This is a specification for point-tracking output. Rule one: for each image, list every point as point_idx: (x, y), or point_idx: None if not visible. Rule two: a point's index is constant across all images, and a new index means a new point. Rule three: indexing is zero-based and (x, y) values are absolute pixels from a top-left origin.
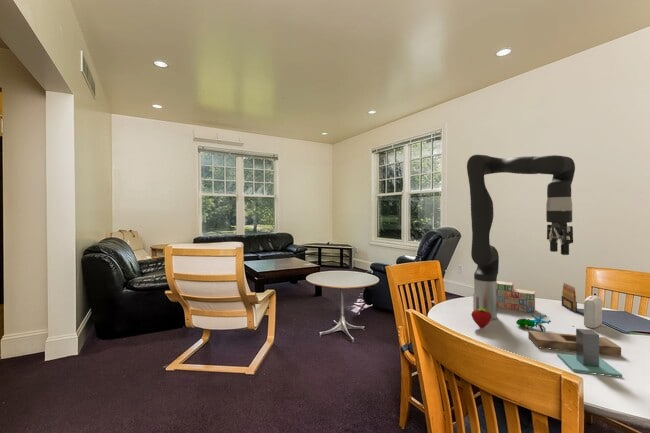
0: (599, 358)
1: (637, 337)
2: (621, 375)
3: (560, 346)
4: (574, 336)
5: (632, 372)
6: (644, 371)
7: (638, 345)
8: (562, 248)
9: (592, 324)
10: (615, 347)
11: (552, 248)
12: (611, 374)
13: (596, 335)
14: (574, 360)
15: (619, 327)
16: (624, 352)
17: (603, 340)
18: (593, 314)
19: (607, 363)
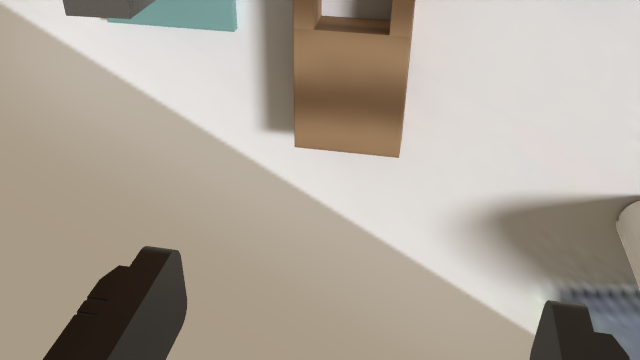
0: (229, 24)
1: (515, 304)
2: (108, 18)
3: None
4: (390, 26)
5: (171, 79)
6: (194, 123)
7: (430, 254)
8: (103, 319)
9: (624, 224)
10: (294, 128)
11: (553, 356)
12: None
13: (66, 3)
14: None
15: (632, 319)
16: (347, 165)
17: (360, 127)
18: (636, 263)
19: (190, 27)
